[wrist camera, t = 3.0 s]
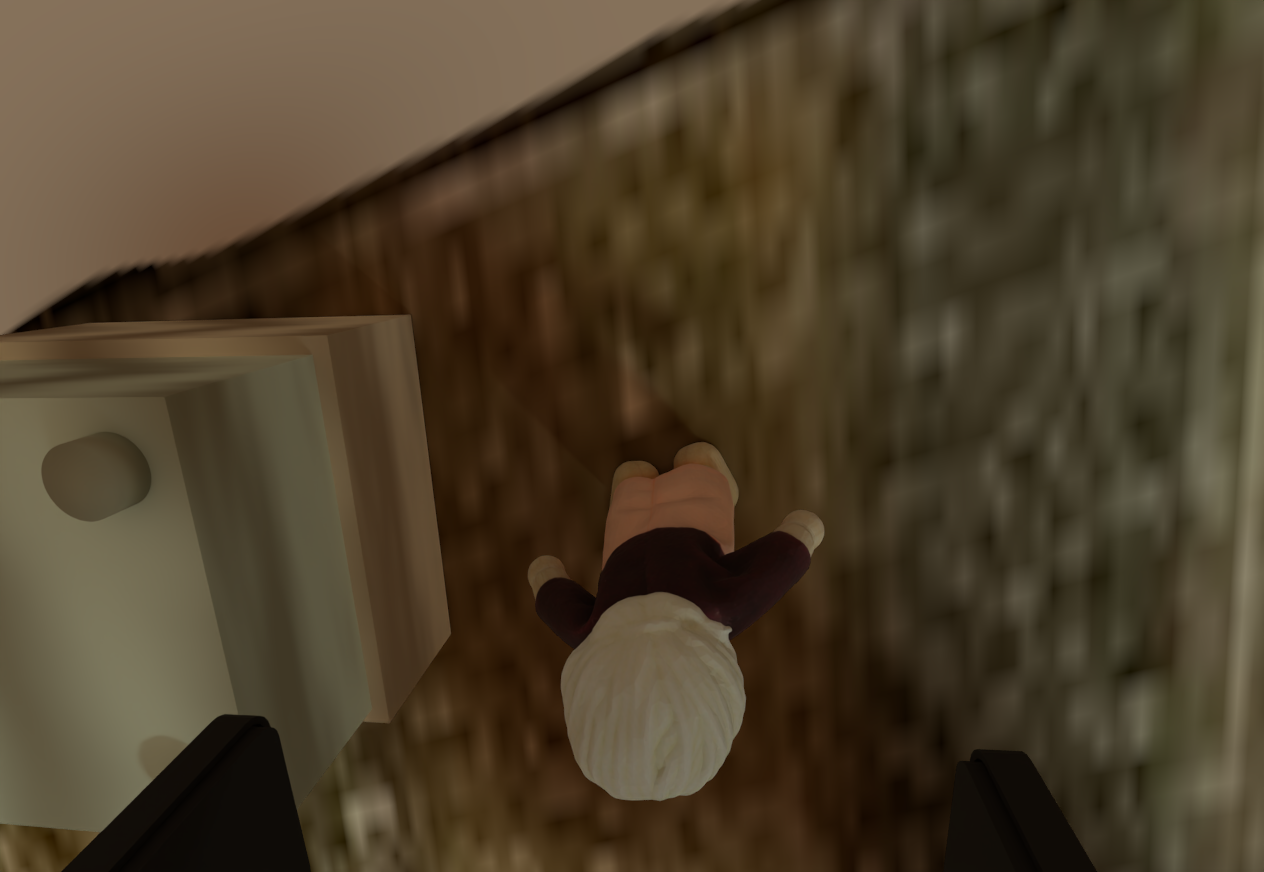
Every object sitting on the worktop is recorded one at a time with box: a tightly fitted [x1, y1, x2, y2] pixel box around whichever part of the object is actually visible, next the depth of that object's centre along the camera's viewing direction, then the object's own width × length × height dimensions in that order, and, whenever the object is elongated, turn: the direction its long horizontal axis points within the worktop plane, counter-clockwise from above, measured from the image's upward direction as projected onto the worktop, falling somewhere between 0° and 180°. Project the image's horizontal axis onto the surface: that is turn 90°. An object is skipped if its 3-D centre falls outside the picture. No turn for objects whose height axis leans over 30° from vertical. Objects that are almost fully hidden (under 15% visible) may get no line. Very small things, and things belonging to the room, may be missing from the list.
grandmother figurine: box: [528, 442, 824, 801], centre depth 17 cm, size 8×4×13 cm, turn 117°
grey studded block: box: [0, 315, 451, 832], centre depth 20 cm, size 12×12×11 cm
